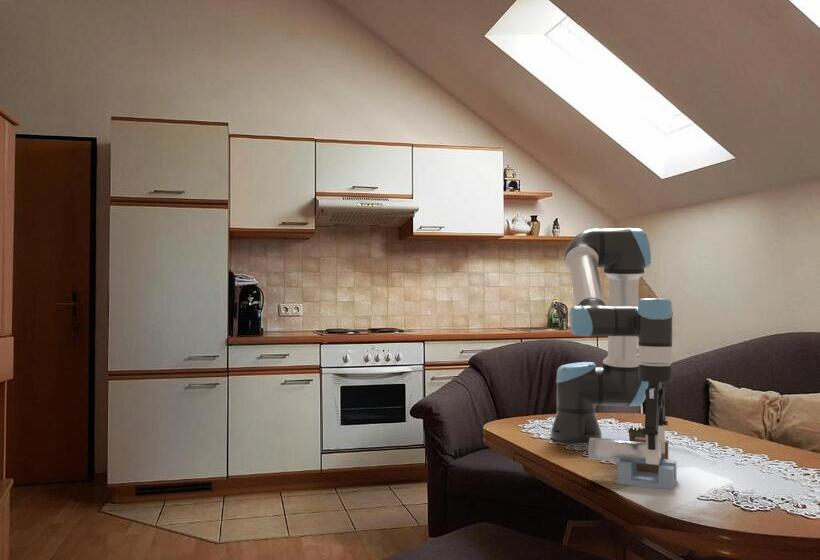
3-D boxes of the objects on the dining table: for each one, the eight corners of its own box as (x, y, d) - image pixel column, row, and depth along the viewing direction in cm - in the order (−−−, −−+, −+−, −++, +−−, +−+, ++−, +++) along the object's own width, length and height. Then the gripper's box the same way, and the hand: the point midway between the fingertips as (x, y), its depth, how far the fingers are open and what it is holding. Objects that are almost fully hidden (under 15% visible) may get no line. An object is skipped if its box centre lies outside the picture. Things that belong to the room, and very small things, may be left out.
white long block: (593, 453, 164) (592, 434, 163) (661, 460, 156) (660, 440, 155) (588, 461, 159) (587, 442, 158) (659, 469, 152) (658, 448, 151)
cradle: (623, 475, 162) (623, 454, 162) (676, 481, 156) (676, 460, 156) (617, 484, 154) (617, 463, 154) (672, 492, 148) (672, 469, 148)
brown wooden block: (635, 463, 172) (635, 436, 173) (668, 467, 169) (668, 440, 169) (629, 474, 162) (628, 446, 162) (663, 478, 159) (663, 449, 159)
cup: (660, 463, 172) (659, 433, 173) (630, 462, 174) (630, 432, 174) (655, 456, 180) (655, 427, 180) (627, 455, 181) (626, 426, 181)
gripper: (645, 359, 166) (645, 446, 166) (630, 367, 145) (630, 467, 145) (677, 361, 163) (677, 449, 162) (666, 369, 142) (667, 471, 141)
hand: (655, 458), depth 153 cm, fingers open, 11 cm apart
